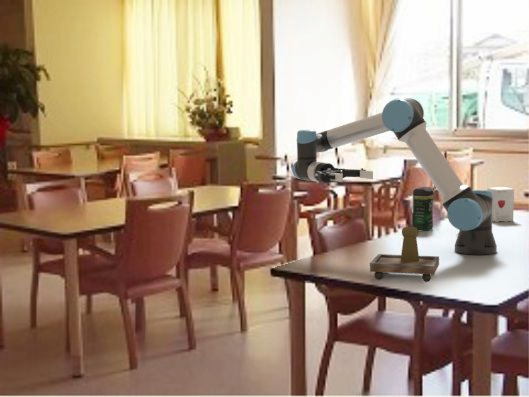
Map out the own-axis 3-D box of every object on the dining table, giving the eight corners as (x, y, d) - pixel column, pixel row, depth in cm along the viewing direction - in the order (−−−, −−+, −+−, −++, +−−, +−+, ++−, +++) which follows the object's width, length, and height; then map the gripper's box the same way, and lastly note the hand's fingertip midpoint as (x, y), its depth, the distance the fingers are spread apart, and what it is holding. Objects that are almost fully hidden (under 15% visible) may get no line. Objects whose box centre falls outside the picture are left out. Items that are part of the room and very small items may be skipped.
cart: (438, 273, 269) (439, 256, 268) (433, 283, 255) (433, 265, 254) (378, 270, 275) (378, 254, 275) (370, 280, 261) (370, 263, 260)
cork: (398, 258, 270) (398, 225, 269) (417, 258, 270) (417, 225, 269) (402, 262, 264) (402, 228, 263) (421, 261, 264) (421, 228, 263)
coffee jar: (427, 231, 349) (427, 188, 347) (410, 230, 353) (410, 187, 351) (435, 228, 357) (435, 186, 355) (418, 227, 361) (418, 185, 359)
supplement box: (495, 222, 370) (496, 189, 368) (486, 219, 378) (486, 187, 376) (514, 221, 371) (514, 188, 369) (504, 218, 380) (504, 186, 378)
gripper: (348, 179, 316) (384, 184, 298) (294, 184, 303) (328, 189, 285) (348, 160, 315) (384, 163, 297) (294, 164, 302) (328, 168, 284)
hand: (357, 176), depth 291 cm, fingers open, 13 cm apart
